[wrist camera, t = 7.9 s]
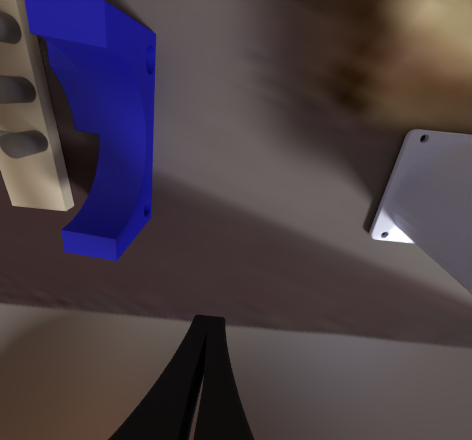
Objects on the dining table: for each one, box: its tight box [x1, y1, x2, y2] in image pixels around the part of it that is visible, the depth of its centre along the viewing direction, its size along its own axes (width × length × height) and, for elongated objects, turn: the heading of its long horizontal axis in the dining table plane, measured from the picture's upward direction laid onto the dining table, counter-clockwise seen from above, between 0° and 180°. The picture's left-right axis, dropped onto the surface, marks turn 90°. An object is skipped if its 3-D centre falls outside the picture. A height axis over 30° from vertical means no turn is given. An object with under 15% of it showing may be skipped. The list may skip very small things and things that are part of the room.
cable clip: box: [25, 0, 156, 261], centre depth 15 cm, size 12×4×6 cm, turn 170°
